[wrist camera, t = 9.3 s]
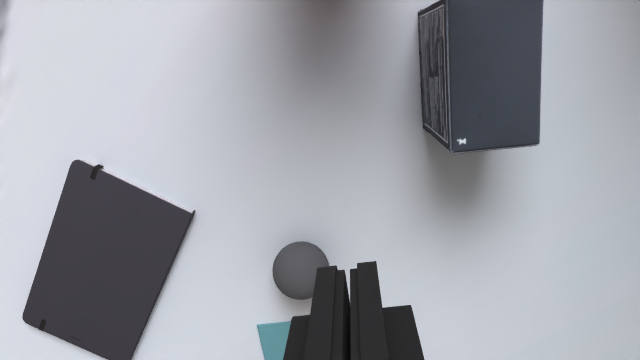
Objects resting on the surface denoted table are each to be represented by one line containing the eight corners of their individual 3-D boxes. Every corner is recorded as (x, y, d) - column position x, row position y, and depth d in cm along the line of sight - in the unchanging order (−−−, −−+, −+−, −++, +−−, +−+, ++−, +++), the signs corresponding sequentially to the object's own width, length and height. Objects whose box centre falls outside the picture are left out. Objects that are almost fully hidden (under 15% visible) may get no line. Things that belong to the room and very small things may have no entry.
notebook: (132, 358, 50) (197, 208, 44) (125, 367, 48) (192, 213, 42) (30, 313, 49) (82, 153, 43) (20, 321, 47) (72, 156, 41)
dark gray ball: (325, 304, 38) (333, 294, 43) (324, 242, 38) (332, 240, 44) (265, 304, 39) (280, 294, 44) (265, 243, 39) (280, 241, 45)
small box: (494, 123, 39) (545, 148, 29) (422, 131, 39) (447, 158, 29) (494, -1, 36) (550, -21, 26) (416, 9, 36) (441, -7, 26)
